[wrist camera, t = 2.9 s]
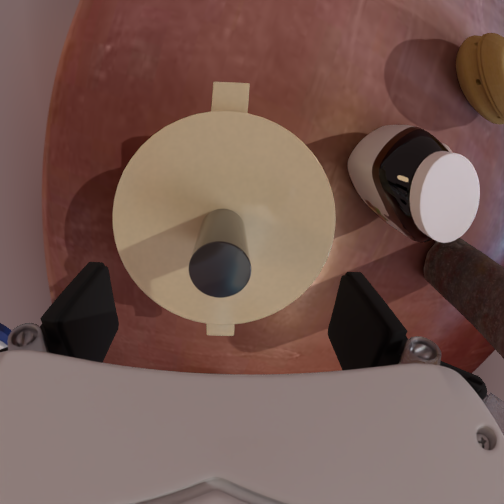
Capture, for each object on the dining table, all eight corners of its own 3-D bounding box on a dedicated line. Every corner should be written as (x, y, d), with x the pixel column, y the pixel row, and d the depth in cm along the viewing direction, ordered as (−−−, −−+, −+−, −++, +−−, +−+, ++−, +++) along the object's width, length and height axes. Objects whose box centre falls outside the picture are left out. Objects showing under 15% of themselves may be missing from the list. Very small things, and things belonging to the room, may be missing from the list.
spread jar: (327, 159, 26) (387, 178, 16) (398, 96, 24) (474, 90, 13) (388, 240, 30) (448, 290, 19) (447, 180, 28) (516, 206, 17)
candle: (408, 264, 32) (512, 368, 13) (441, 219, 30) (561, 297, 11) (435, 289, 34) (521, 381, 16) (464, 249, 32) (561, 325, 13)
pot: (460, 25, 19) (510, 14, 10) (503, 90, 22) (553, 93, 13) (430, 69, 22) (490, 61, 13) (479, 139, 26) (535, 151, 16)
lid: (129, 311, 22) (103, 370, 16) (116, 115, 16) (62, 110, 10) (312, 317, 24) (337, 376, 17) (343, 125, 18) (396, 124, 11)
